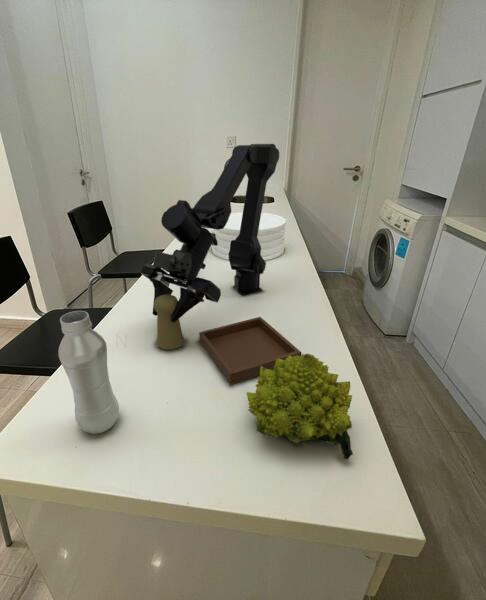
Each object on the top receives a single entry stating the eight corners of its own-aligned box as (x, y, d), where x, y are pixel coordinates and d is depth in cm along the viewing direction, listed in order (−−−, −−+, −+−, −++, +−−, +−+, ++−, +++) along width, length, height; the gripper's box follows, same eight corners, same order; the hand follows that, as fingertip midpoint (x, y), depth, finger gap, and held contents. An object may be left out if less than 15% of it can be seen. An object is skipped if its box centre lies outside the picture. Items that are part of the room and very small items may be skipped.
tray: (259, 325, 79) (260, 316, 78) (300, 362, 66) (301, 352, 65) (199, 341, 74) (198, 332, 73) (230, 385, 61) (230, 374, 60)
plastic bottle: (84, 410, 57) (56, 307, 47) (124, 406, 57) (104, 304, 48) (73, 441, 51) (39, 331, 42) (118, 437, 51) (94, 327, 42)
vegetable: (390, 453, 43) (335, 361, 40) (283, 493, 47) (227, 411, 45) (357, 391, 57) (315, 320, 54) (277, 426, 61) (234, 361, 59)
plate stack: (199, 246, 135) (197, 218, 130) (253, 235, 147) (254, 209, 142) (239, 267, 113) (239, 234, 108) (299, 251, 126) (302, 221, 120)
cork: (179, 350, 70) (175, 305, 65) (152, 348, 71) (146, 303, 66) (187, 334, 76) (183, 291, 70) (161, 332, 77) (156, 290, 72)
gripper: (140, 228, 71) (108, 293, 68) (210, 241, 60) (175, 319, 58) (169, 252, 80) (141, 311, 77) (234, 267, 69) (204, 336, 67)
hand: (163, 318), depth 70 cm, fingers closed on cork, 5 cm apart
